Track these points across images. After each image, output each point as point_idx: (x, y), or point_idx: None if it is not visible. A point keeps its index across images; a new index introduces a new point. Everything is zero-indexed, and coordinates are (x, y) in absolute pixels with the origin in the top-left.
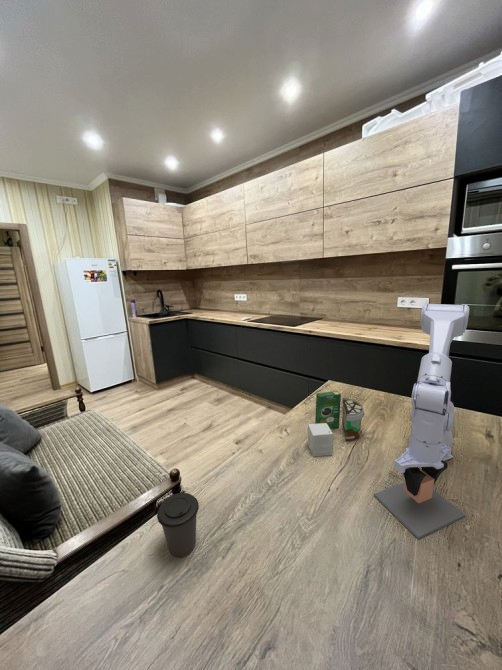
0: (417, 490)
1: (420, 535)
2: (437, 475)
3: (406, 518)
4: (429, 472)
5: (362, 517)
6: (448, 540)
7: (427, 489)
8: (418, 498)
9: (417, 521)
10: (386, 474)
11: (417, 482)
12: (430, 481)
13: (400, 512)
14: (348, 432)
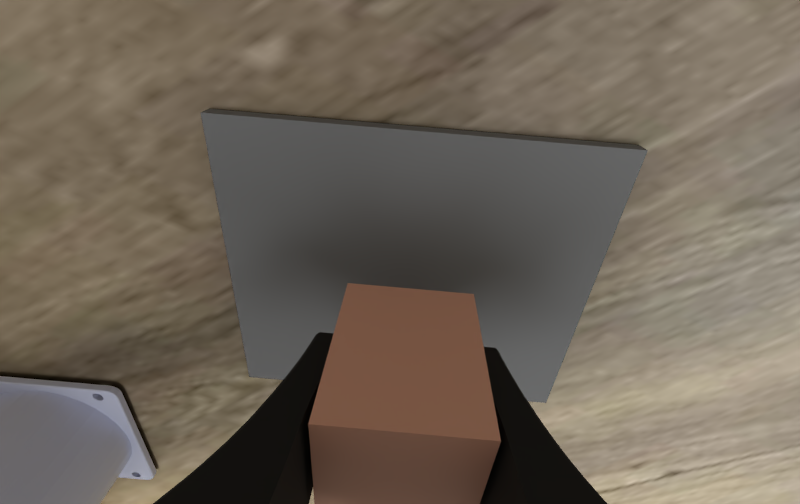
0: (505, 386)
1: (622, 151)
2: (266, 457)
3: (562, 257)
4: (296, 487)
5: (716, 347)
6: (483, 49)
7: (399, 355)
8: (475, 322)
9: (530, 219)
10: None
11: (599, 501)
12: (364, 417)
13: (549, 292)
14: None
